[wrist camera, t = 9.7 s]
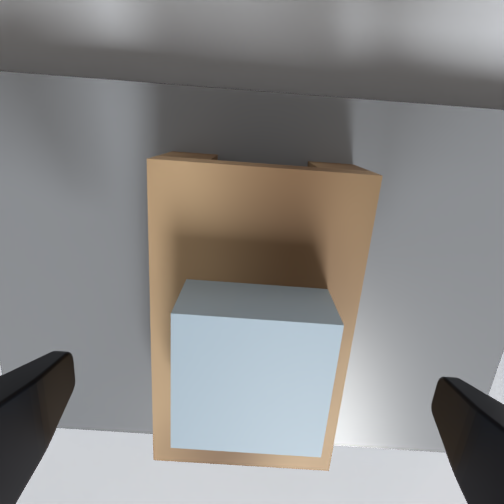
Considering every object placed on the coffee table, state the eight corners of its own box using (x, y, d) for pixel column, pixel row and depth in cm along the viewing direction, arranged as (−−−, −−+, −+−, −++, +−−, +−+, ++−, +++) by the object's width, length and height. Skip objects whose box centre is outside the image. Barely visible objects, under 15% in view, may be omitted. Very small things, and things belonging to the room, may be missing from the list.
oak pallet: (172, 398, 15) (153, 459, 12) (172, 151, 12) (146, 158, 9) (315, 407, 15) (328, 470, 13) (352, 164, 12) (382, 175, 9)
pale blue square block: (184, 395, 12) (170, 448, 10) (186, 279, 10) (170, 313, 8) (310, 403, 12) (321, 457, 10) (327, 289, 10) (343, 325, 8)
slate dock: (31, 400, 17) (11, 424, 16) (-19, 73, 13) (-53, 67, 11) (450, 427, 18) (468, 453, 16) (547, 117, 13) (583, 116, 12)
